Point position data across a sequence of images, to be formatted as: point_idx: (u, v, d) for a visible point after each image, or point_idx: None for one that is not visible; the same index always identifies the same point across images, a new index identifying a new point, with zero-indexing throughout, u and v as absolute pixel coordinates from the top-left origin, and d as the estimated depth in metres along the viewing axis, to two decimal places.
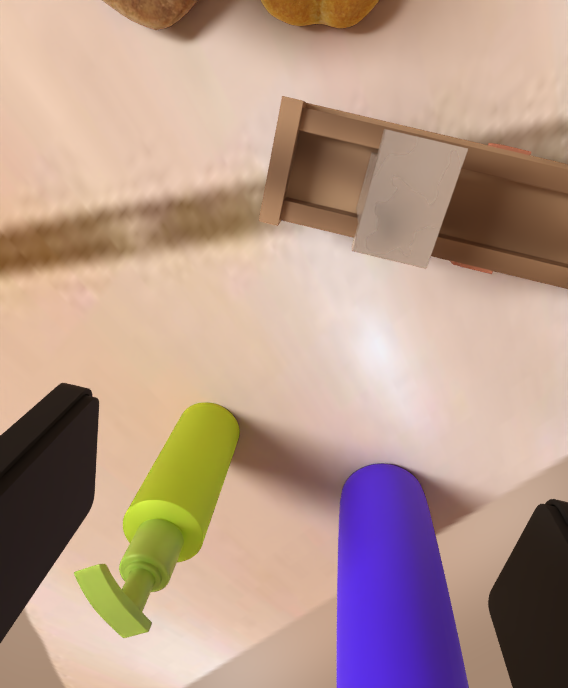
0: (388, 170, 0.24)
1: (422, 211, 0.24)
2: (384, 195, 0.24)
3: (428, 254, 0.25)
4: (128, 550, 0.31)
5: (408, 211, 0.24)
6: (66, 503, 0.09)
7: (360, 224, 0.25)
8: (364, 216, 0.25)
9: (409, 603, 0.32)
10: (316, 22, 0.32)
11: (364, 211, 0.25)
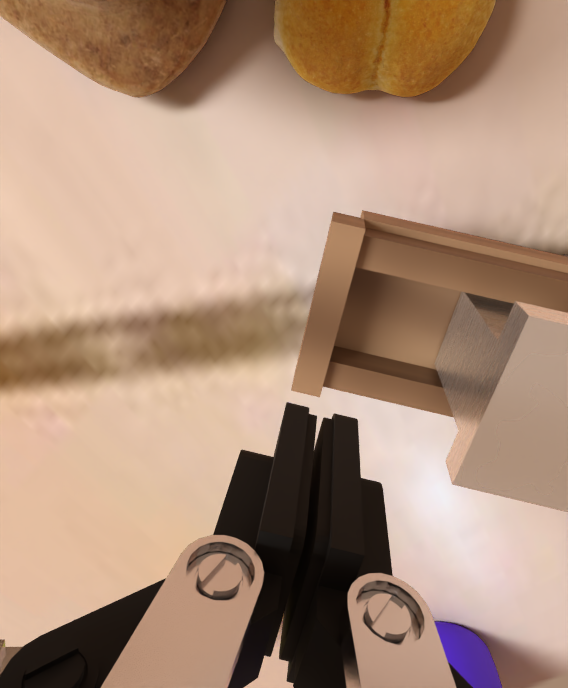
0: (526, 376, 0.14)
1: None
2: (515, 411, 0.14)
3: None
4: None
5: (554, 435, 0.14)
6: None
7: (469, 449, 0.15)
8: (478, 439, 0.15)
9: None
10: (369, 88, 0.22)
11: (478, 432, 0.15)
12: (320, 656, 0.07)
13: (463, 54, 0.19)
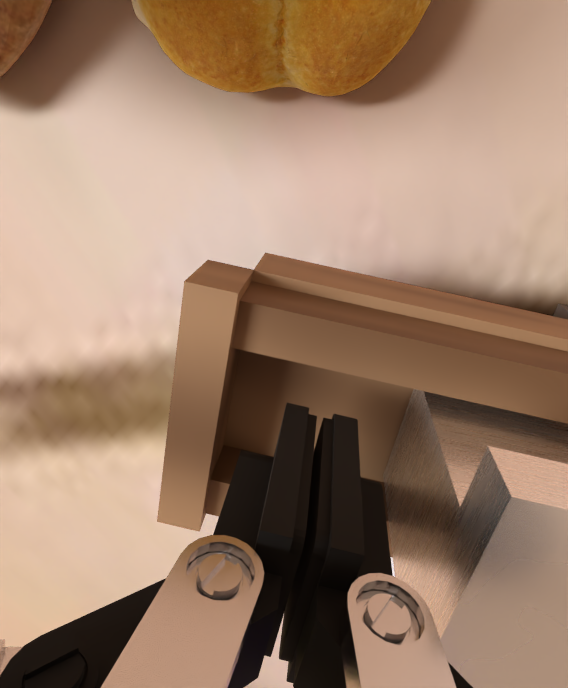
0: (510, 595, 0.07)
1: None
2: (492, 646, 0.08)
3: None
4: None
5: (564, 685, 0.08)
6: None
7: None
8: None
9: None
10: (279, 84, 0.15)
11: None
12: (320, 656, 0.07)
13: (402, 32, 0.13)
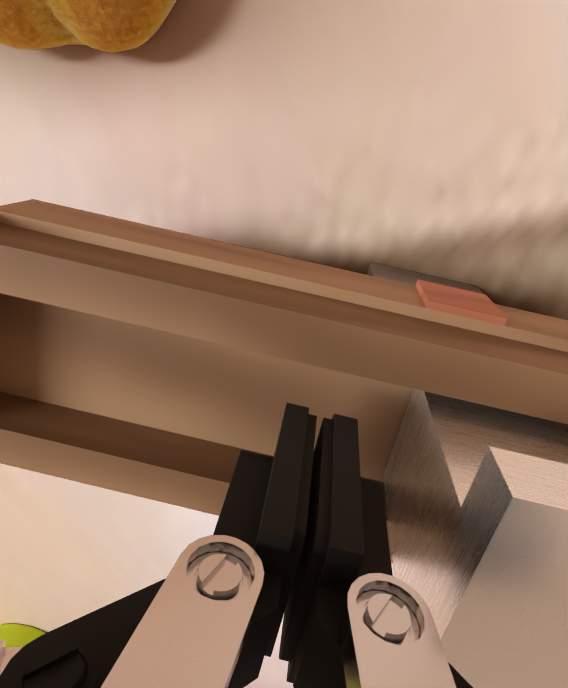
0: (510, 595, 0.07)
1: None
2: (492, 647, 0.08)
3: None
4: None
5: (564, 685, 0.08)
6: None
7: None
8: None
9: None
10: (67, 41, 0.16)
11: None
12: (320, 656, 0.07)
13: None
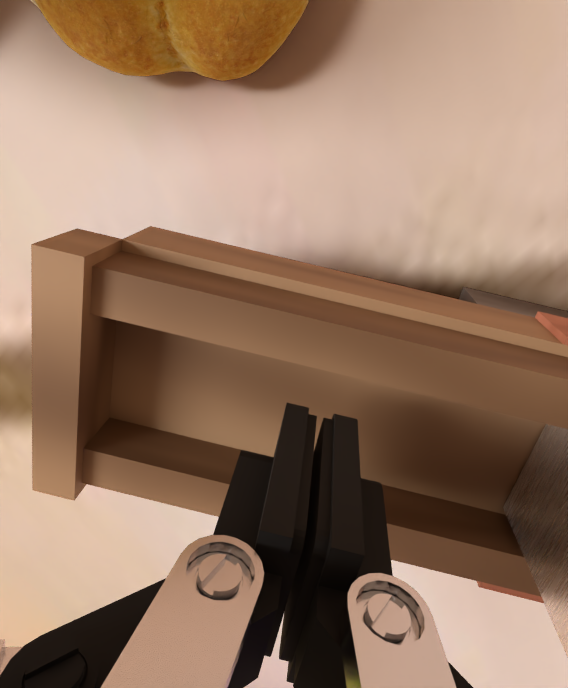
0: None
1: None
2: None
3: None
4: None
5: None
6: None
7: None
8: None
9: None
10: (176, 69, 0.16)
11: None
12: (320, 656, 0.07)
13: (282, 16, 0.14)
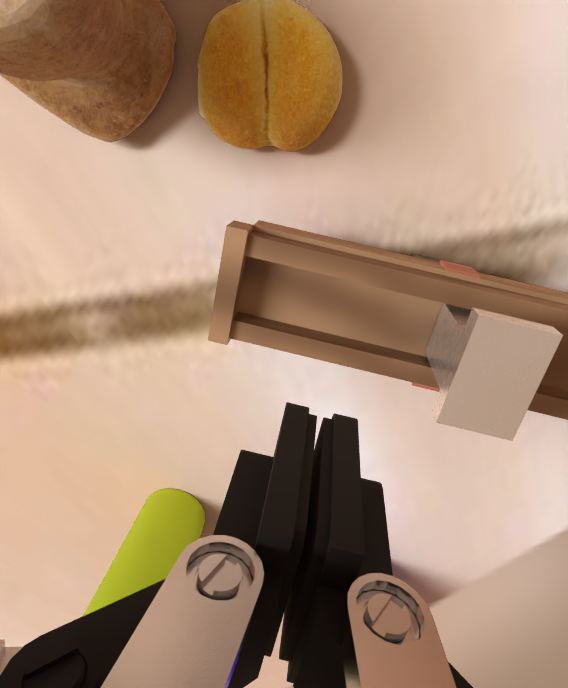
0: (478, 352, 0.23)
1: (511, 389, 0.24)
2: (473, 374, 0.24)
3: (515, 428, 0.25)
4: None
5: (497, 389, 0.24)
6: None
7: (446, 398, 0.24)
8: (451, 391, 0.24)
9: None
10: (266, 145, 0.32)
11: (451, 387, 0.24)
12: (320, 656, 0.07)
13: (321, 125, 0.30)
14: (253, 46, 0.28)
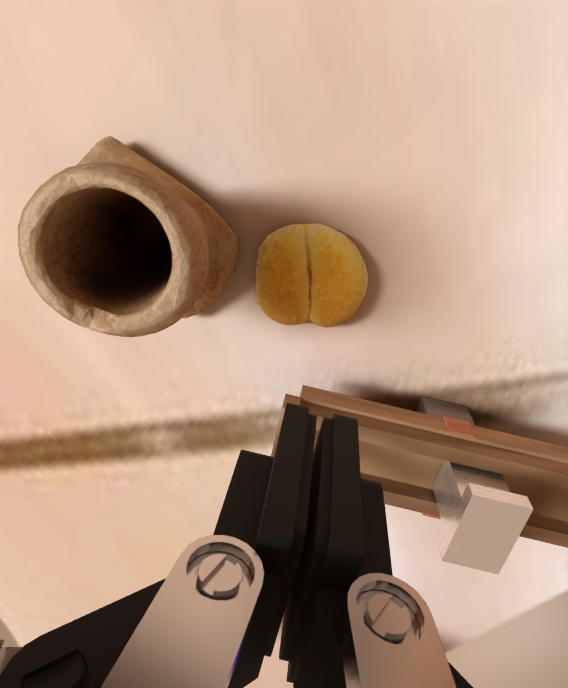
0: (472, 517, 0.32)
1: (497, 541, 0.33)
2: (468, 530, 0.32)
3: (500, 566, 0.33)
4: None
5: (486, 540, 0.33)
6: None
7: (449, 545, 0.33)
8: (453, 541, 0.33)
9: None
10: (306, 320, 0.40)
11: (452, 538, 0.33)
12: (320, 656, 0.07)
13: (351, 314, 0.38)
14: (301, 266, 0.36)
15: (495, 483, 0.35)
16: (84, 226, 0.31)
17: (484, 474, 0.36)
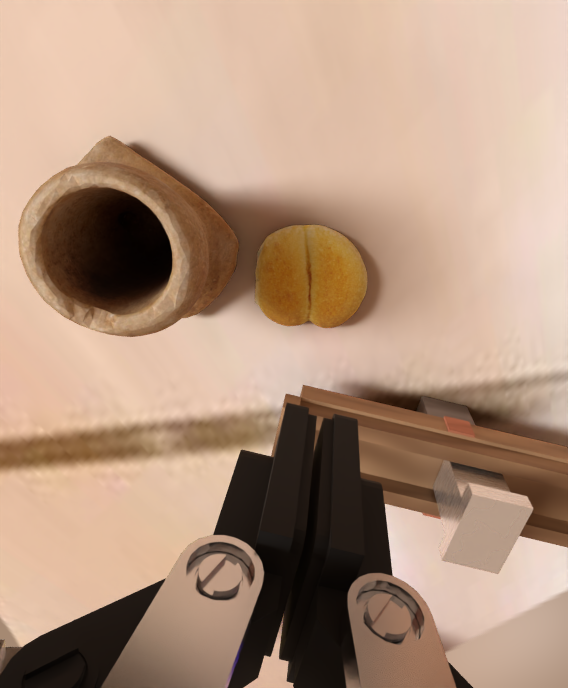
0: (472, 517, 0.32)
1: (497, 541, 0.33)
2: (468, 530, 0.32)
3: (500, 566, 0.33)
4: None
5: (486, 540, 0.33)
6: None
7: (449, 545, 0.33)
8: (453, 541, 0.33)
9: None
10: (306, 321, 0.40)
11: (452, 538, 0.33)
12: (320, 656, 0.07)
13: (351, 315, 0.38)
14: (300, 267, 0.36)
15: (495, 483, 0.35)
16: (84, 225, 0.31)
17: (484, 474, 0.36)
